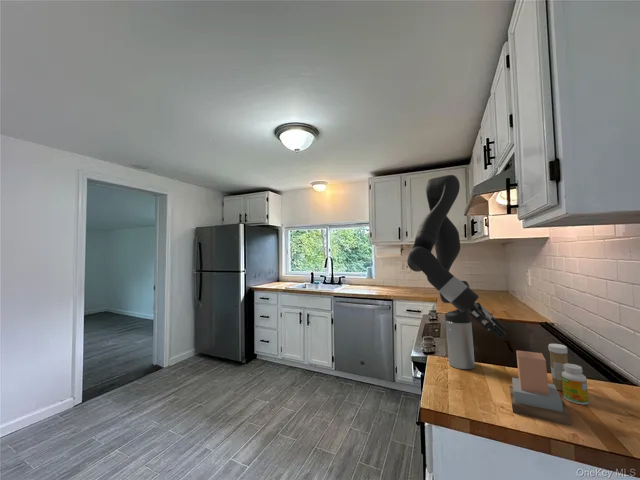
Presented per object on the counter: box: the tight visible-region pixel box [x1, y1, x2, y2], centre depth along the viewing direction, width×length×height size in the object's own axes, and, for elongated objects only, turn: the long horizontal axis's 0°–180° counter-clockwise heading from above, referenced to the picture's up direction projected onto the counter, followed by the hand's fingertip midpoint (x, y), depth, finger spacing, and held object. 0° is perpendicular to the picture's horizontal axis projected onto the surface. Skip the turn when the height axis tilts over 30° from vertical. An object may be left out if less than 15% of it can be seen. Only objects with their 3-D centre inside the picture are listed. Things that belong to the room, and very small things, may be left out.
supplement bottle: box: [562, 363, 590, 406], centre depth 79 cm, size 5×5×10 cm
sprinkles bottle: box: [547, 343, 569, 392], centre depth 86 cm, size 5×5×13 cm
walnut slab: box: [509, 385, 572, 426], centre depth 76 cm, size 12×12×3 cm
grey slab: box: [511, 377, 563, 412], centre depth 76 cm, size 10×10×3 cm
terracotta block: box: [516, 350, 549, 395], centre depth 77 cm, size 6×6×9 cm
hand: (503, 333), depth 81 cm, fingers open, 8 cm apart
